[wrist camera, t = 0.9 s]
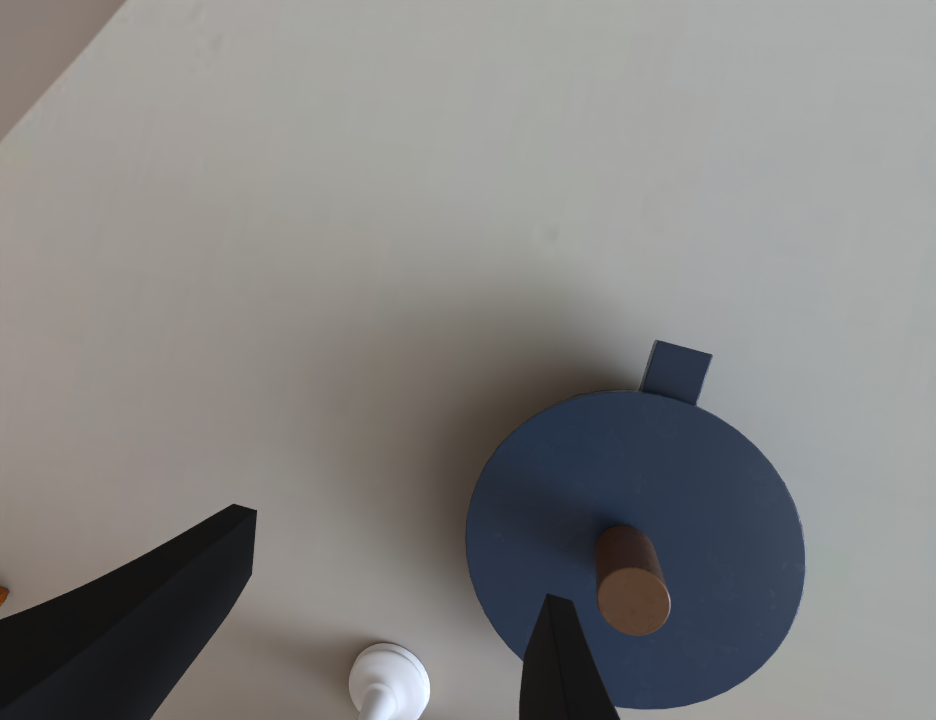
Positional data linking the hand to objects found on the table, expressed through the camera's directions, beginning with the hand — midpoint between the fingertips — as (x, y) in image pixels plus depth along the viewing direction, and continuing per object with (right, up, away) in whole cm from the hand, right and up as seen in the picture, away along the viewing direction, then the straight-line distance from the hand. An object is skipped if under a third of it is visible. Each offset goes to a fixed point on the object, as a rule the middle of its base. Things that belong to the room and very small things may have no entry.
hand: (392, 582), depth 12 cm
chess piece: (-3, -14, +19) cm, 23 cm away
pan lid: (+9, -3, +11) cm, 14 cm away
